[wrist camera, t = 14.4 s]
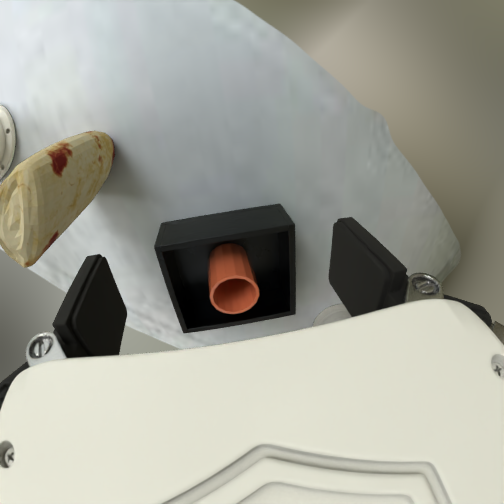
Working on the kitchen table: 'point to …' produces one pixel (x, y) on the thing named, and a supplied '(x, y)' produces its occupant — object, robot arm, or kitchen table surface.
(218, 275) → the cup
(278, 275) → the black storage bin
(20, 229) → the food model
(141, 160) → the kitchen table surface
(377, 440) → the robot arm
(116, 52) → the kitchen table surface
